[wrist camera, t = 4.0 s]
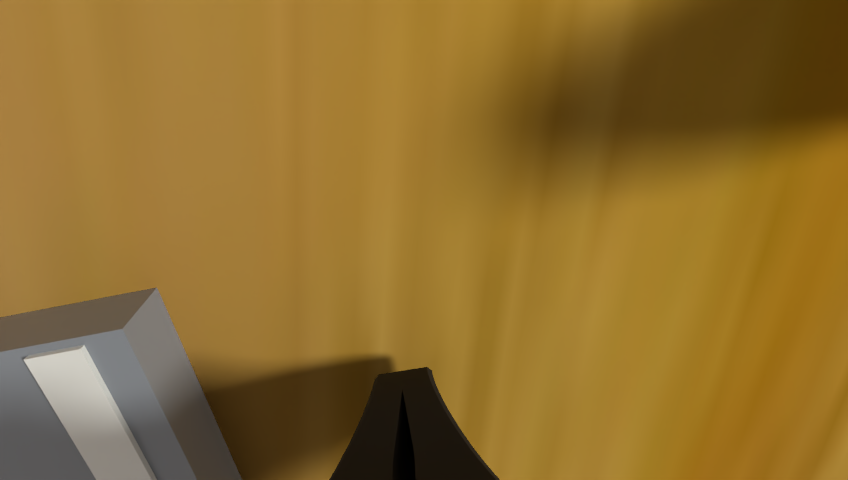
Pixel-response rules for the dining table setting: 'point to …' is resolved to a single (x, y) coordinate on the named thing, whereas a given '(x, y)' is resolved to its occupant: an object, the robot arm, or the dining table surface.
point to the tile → (104, 396)
